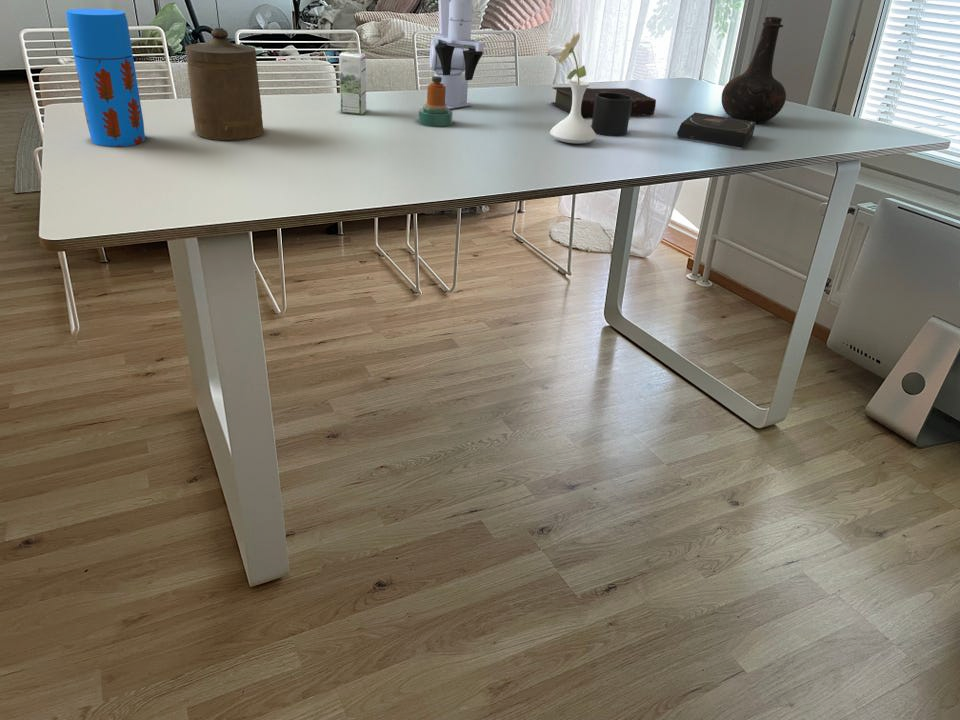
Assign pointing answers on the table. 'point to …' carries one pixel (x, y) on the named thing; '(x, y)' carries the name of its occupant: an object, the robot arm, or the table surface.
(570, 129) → the flower in vase
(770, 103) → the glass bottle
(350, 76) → the syrup box
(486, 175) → the table surface
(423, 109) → the green round container
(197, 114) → the wooden container
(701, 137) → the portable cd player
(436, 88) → the amber bottle
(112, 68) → the thermos
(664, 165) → the table surface
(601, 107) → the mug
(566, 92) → the diary
